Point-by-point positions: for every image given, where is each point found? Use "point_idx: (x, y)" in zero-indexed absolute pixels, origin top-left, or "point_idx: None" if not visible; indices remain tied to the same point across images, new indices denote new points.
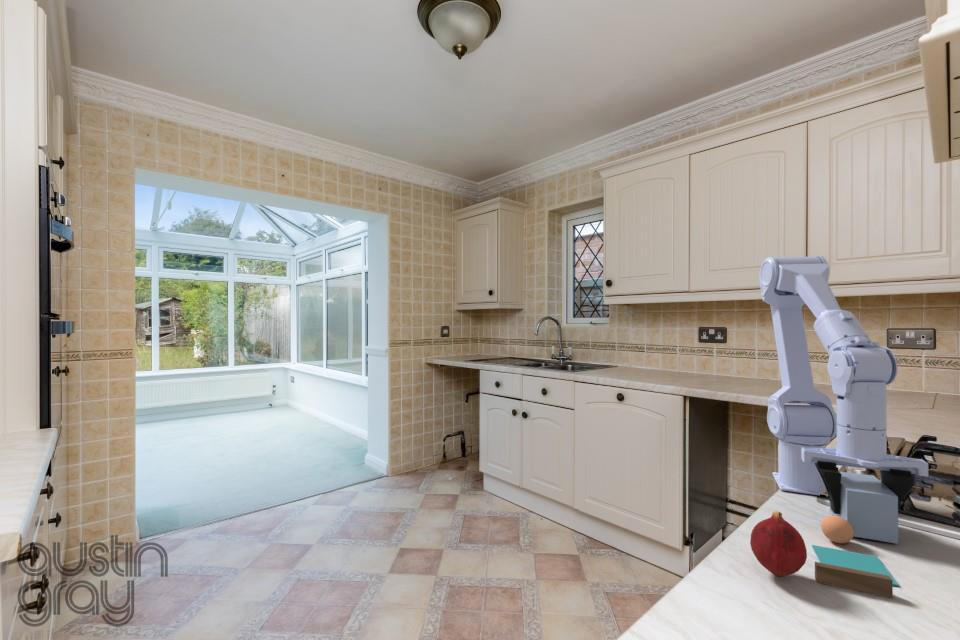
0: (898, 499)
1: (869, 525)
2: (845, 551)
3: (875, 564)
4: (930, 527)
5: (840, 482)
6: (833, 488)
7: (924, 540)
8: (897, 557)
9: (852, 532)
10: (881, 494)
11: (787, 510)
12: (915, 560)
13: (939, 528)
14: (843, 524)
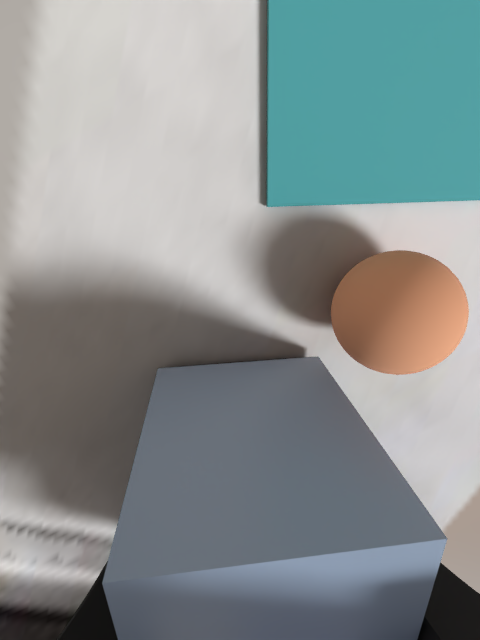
0: (96, 606)
1: (256, 394)
2: (375, 197)
3: (299, 107)
4: (28, 562)
5: (443, 638)
6: (435, 578)
7: (62, 458)
8: (185, 256)
9: (352, 285)
10: (216, 571)
11: (431, 483)
12: (126, 260)
13: (3, 568)
14: (410, 287)
